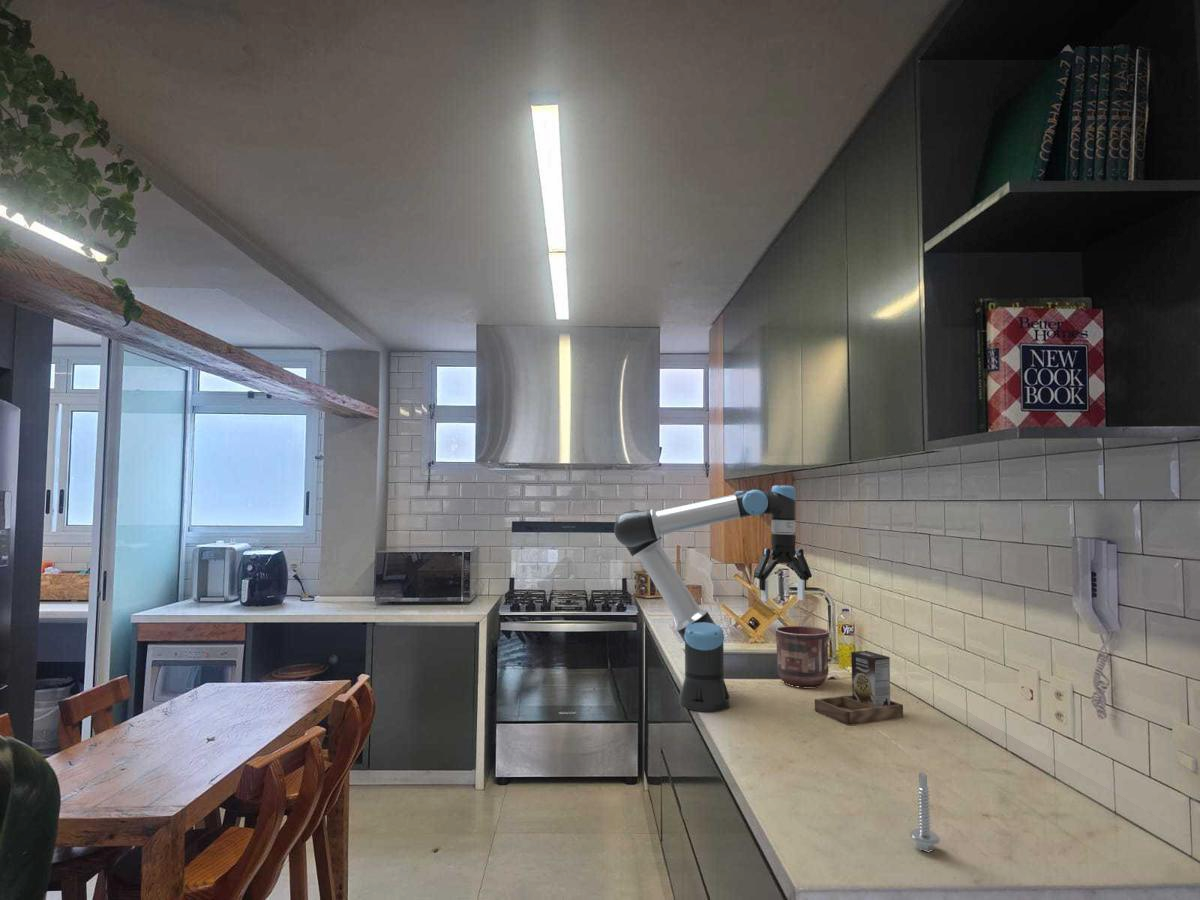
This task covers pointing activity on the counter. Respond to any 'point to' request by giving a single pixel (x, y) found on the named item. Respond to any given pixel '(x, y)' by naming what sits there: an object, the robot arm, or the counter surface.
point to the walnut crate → (856, 710)
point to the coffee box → (870, 678)
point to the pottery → (802, 655)
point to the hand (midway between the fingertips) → (783, 600)
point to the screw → (924, 819)
